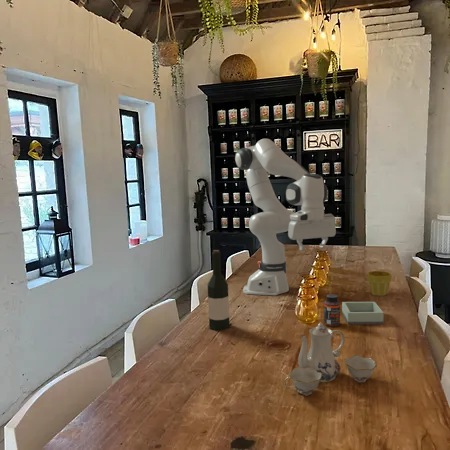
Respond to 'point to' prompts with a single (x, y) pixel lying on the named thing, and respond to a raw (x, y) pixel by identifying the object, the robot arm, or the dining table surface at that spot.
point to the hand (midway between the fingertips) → (312, 249)
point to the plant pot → (379, 282)
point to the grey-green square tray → (362, 313)
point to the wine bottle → (218, 296)
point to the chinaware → (325, 362)
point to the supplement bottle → (332, 311)
